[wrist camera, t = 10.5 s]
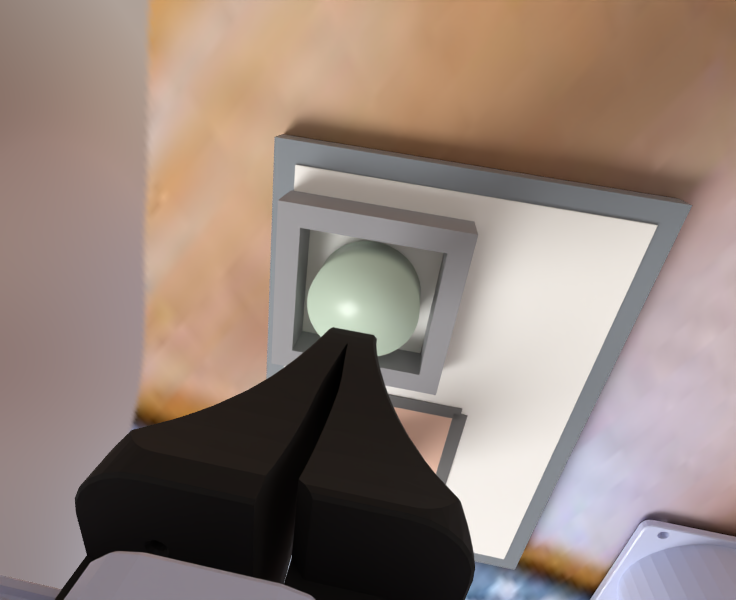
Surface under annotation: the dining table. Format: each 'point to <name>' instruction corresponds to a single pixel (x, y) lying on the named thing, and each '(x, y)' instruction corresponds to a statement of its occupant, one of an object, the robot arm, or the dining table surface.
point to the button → (367, 294)
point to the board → (477, 308)
